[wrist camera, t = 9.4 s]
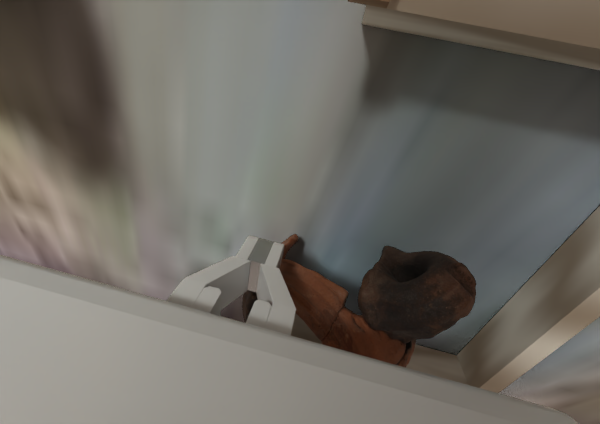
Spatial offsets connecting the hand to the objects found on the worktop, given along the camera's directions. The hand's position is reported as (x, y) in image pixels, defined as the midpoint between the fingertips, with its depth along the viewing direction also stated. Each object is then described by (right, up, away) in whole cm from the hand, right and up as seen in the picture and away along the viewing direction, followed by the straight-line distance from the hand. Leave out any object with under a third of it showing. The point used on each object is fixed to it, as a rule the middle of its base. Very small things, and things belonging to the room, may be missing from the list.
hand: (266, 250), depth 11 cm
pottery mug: (+5, -2, +4) cm, 7 cm away
